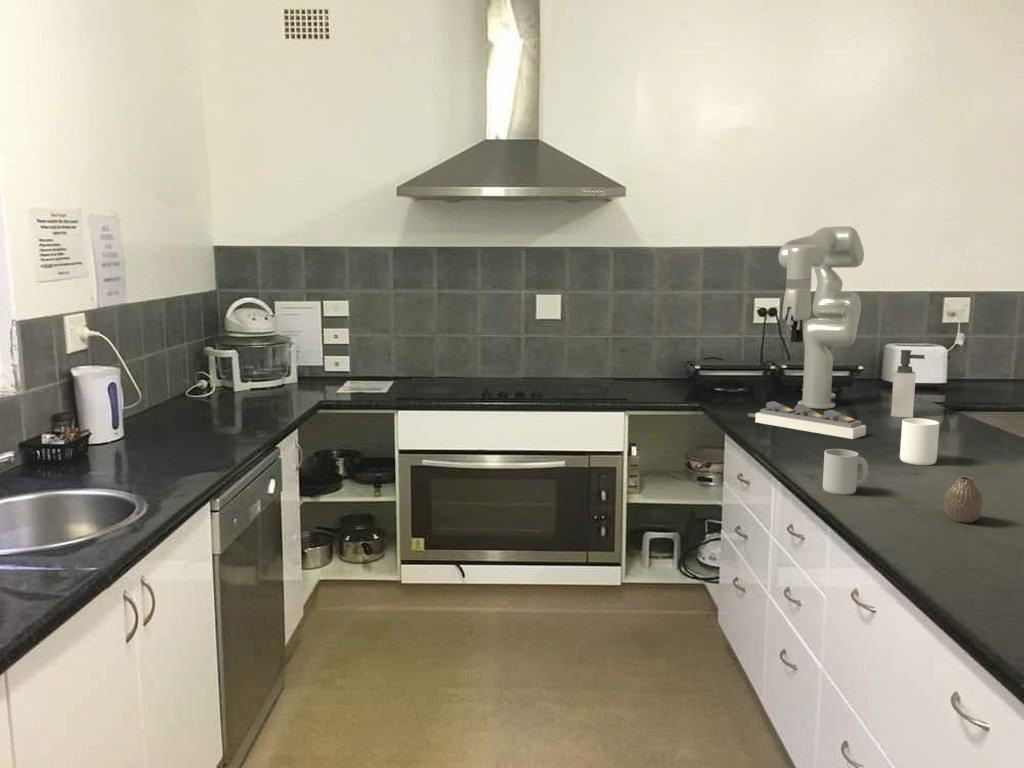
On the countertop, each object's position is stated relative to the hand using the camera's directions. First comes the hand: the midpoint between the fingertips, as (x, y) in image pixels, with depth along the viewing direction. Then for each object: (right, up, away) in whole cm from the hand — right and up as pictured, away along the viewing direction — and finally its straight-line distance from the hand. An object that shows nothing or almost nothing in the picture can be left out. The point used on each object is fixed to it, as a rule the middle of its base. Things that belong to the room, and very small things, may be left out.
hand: (796, 341), depth 258 cm
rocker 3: (+7, -24, -17) cm, 30 cm away
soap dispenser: (+40, -25, +10) cm, 48 cm away
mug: (+14, -34, -48) cm, 61 cm away
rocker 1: (-6, -22, -2) cm, 22 cm away
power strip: (-1, -27, -7) cm, 28 cm away
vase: (-1, -42, -96) cm, 105 cm away
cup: (-16, -38, -75) cm, 86 cm away
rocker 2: (0, -23, -10) cm, 25 cm away
